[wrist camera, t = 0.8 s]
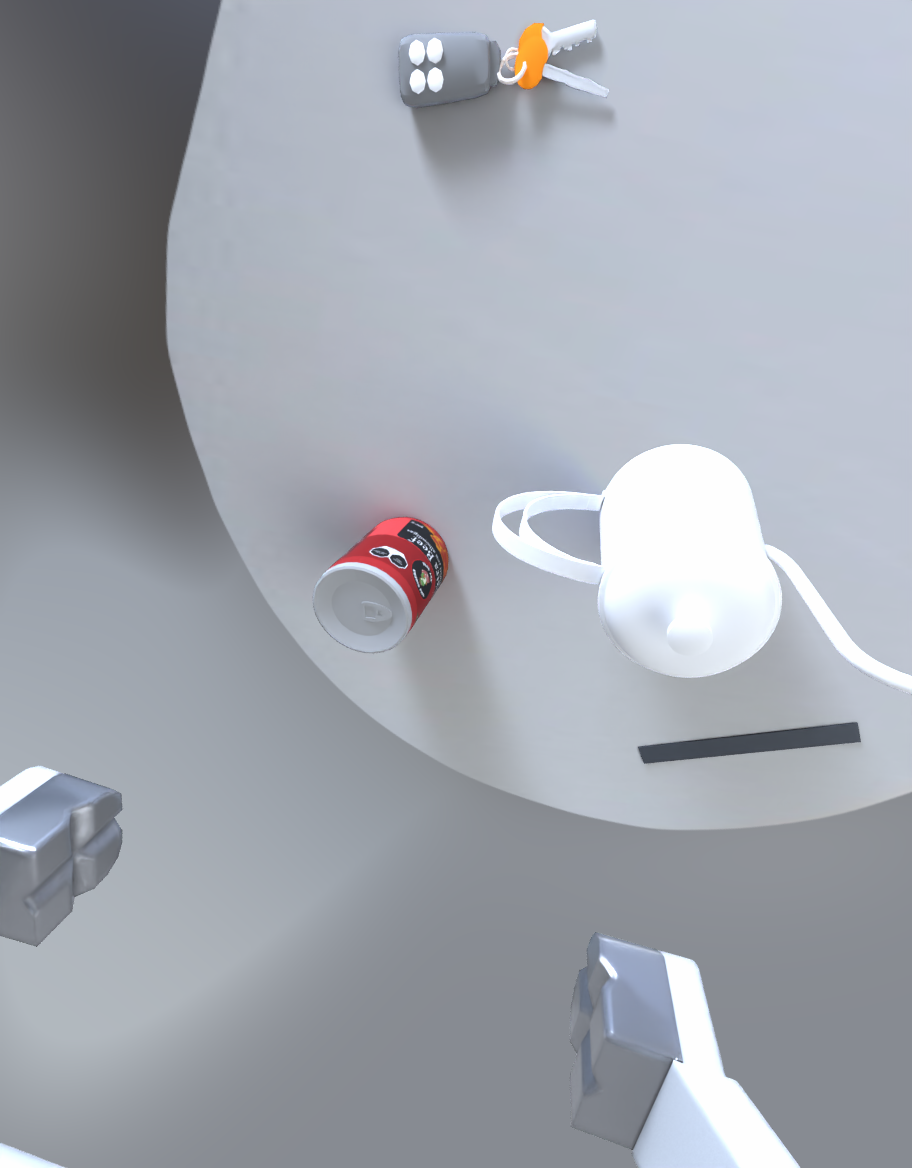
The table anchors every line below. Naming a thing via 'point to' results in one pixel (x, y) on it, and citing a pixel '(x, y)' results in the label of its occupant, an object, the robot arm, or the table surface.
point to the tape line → (752, 743)
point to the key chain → (484, 63)
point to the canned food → (381, 585)
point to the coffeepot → (681, 565)
